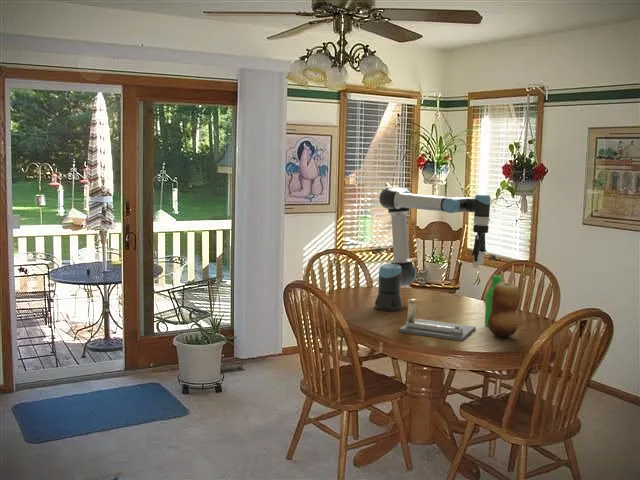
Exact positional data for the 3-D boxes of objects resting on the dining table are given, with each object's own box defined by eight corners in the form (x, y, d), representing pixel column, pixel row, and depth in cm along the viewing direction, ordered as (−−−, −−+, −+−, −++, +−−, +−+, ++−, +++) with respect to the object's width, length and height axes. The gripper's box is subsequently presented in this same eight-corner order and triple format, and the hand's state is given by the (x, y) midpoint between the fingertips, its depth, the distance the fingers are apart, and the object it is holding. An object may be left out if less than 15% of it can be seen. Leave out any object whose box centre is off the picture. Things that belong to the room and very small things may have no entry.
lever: (463, 332, 312) (465, 304, 311) (460, 334, 308) (462, 306, 306) (408, 324, 324) (409, 298, 322) (404, 326, 319) (405, 299, 318)
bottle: (492, 328, 330) (496, 277, 327) (480, 324, 337) (483, 274, 334) (506, 327, 334) (510, 276, 331) (494, 323, 341) (497, 273, 338)
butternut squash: (515, 342, 305) (519, 287, 302) (485, 338, 310) (488, 284, 307) (518, 335, 318) (521, 282, 315) (488, 331, 323) (492, 279, 320)
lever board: (398, 331, 318) (398, 327, 317) (415, 321, 340) (415, 317, 339) (462, 341, 305) (462, 337, 304) (475, 329, 326) (475, 325, 326)
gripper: (483, 227, 334) (480, 270, 337) (493, 223, 357) (490, 263, 360) (468, 226, 337) (465, 268, 340) (478, 222, 360) (475, 262, 363)
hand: (478, 266), depth 350 cm, fingers open, 13 cm apart
